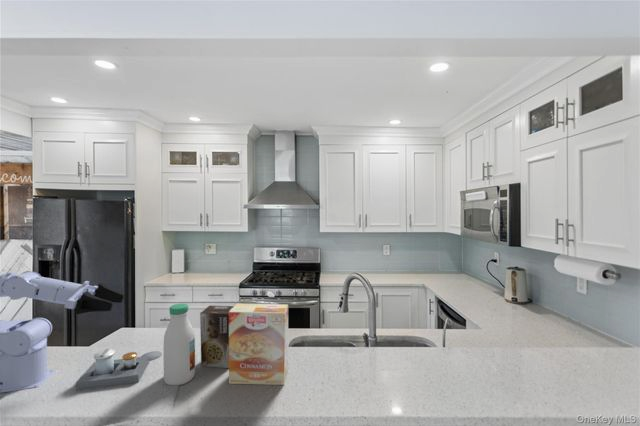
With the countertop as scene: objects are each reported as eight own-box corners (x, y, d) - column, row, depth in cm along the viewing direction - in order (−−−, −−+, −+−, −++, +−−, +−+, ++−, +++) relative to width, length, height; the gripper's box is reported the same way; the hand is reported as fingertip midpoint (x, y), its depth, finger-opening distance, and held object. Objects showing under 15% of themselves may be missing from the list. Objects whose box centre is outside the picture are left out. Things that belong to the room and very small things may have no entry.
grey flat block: (76, 392, 76) (75, 382, 76) (94, 370, 86) (94, 362, 86) (138, 383, 80) (138, 374, 80) (149, 363, 89) (149, 355, 89)
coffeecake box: (228, 384, 80) (227, 311, 79) (236, 369, 87) (236, 302, 86) (284, 386, 79) (284, 312, 78) (288, 370, 86) (288, 303, 86)
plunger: (120, 372, 81) (120, 359, 81) (125, 365, 85) (124, 352, 85) (134, 370, 82) (134, 357, 82) (138, 363, 86) (138, 351, 85)
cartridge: (91, 382, 79) (90, 357, 79) (99, 373, 84) (98, 349, 83) (111, 380, 80) (110, 355, 80) (117, 370, 85) (117, 347, 85)
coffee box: (238, 357, 94) (238, 305, 93) (230, 368, 87) (229, 313, 86) (210, 355, 94) (209, 304, 94) (199, 366, 88) (199, 312, 87)
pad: (137, 363, 89) (137, 362, 89) (143, 353, 95) (143, 352, 95) (159, 360, 91) (159, 359, 91) (164, 351, 97) (164, 350, 97)
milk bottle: (183, 388, 78) (182, 312, 77) (157, 384, 79) (156, 309, 79) (200, 372, 85) (200, 302, 85) (176, 368, 87) (175, 300, 86)
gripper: (50, 284, 74) (111, 295, 77) (81, 272, 88) (131, 282, 91) (41, 312, 74) (102, 322, 77) (73, 295, 88) (124, 305, 91)
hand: (117, 302), depth 84 cm, fingers open, 7 cm apart
